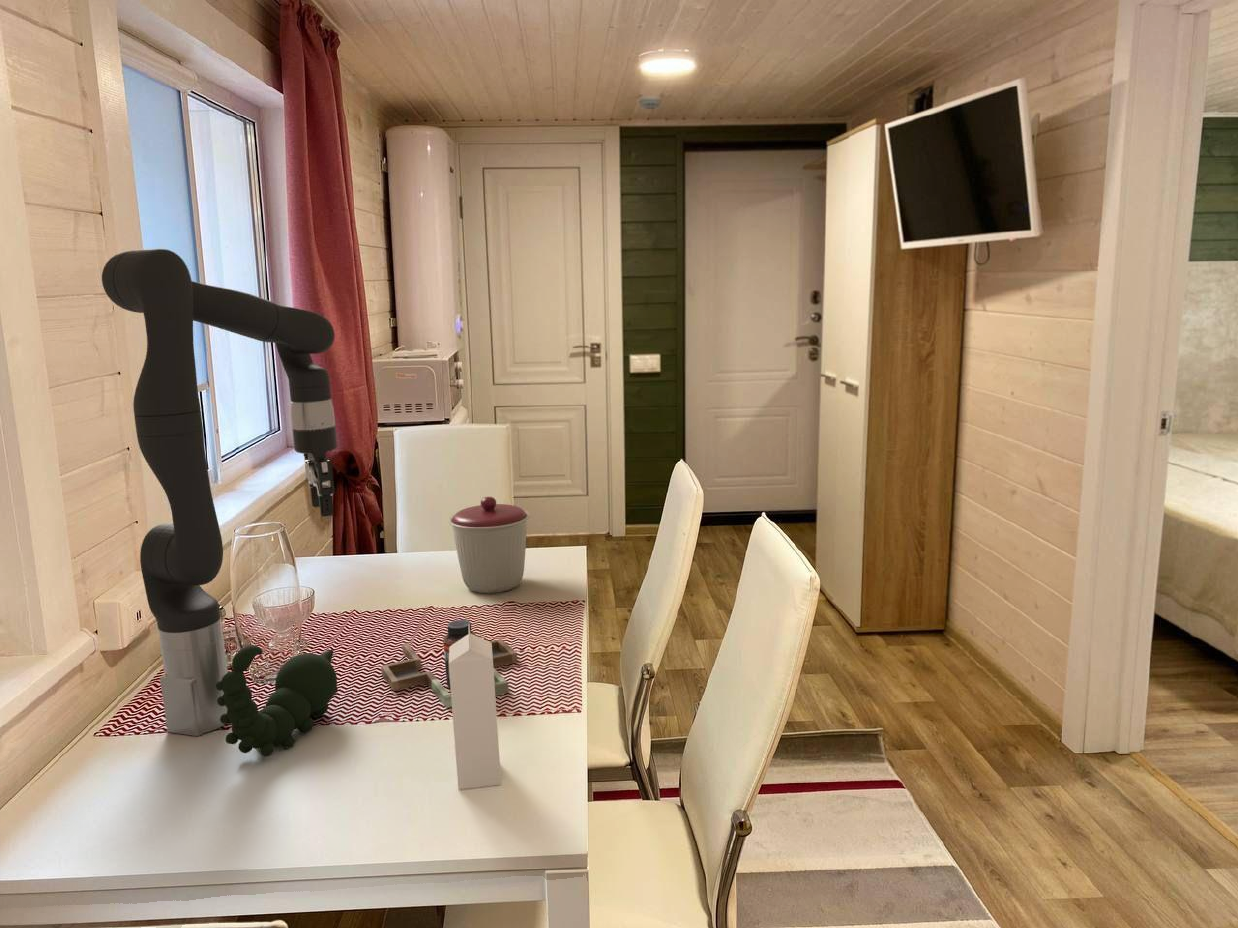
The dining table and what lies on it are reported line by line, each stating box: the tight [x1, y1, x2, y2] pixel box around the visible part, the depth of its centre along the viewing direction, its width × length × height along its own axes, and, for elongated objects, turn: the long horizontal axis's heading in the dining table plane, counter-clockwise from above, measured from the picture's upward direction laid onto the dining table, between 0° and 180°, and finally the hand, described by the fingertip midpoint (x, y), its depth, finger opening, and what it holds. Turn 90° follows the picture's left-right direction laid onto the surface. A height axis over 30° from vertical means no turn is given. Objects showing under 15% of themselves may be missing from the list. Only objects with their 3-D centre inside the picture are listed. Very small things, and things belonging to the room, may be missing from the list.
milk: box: [449, 625, 502, 791], centre depth 131 cm, size 6×6×22 cm
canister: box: [448, 496, 531, 594], centre depth 212 cm, size 18×18×21 cm
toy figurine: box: [216, 644, 339, 757], centre depth 146 cm, size 9×19×25 cm
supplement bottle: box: [443, 619, 478, 689], centre depth 162 cm, size 6×6×11 cm
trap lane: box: [380, 638, 518, 709], centre depth 169 cm, size 27×23×2 cm
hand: (322, 510), depth 174 cm, fingers open, 8 cm apart
